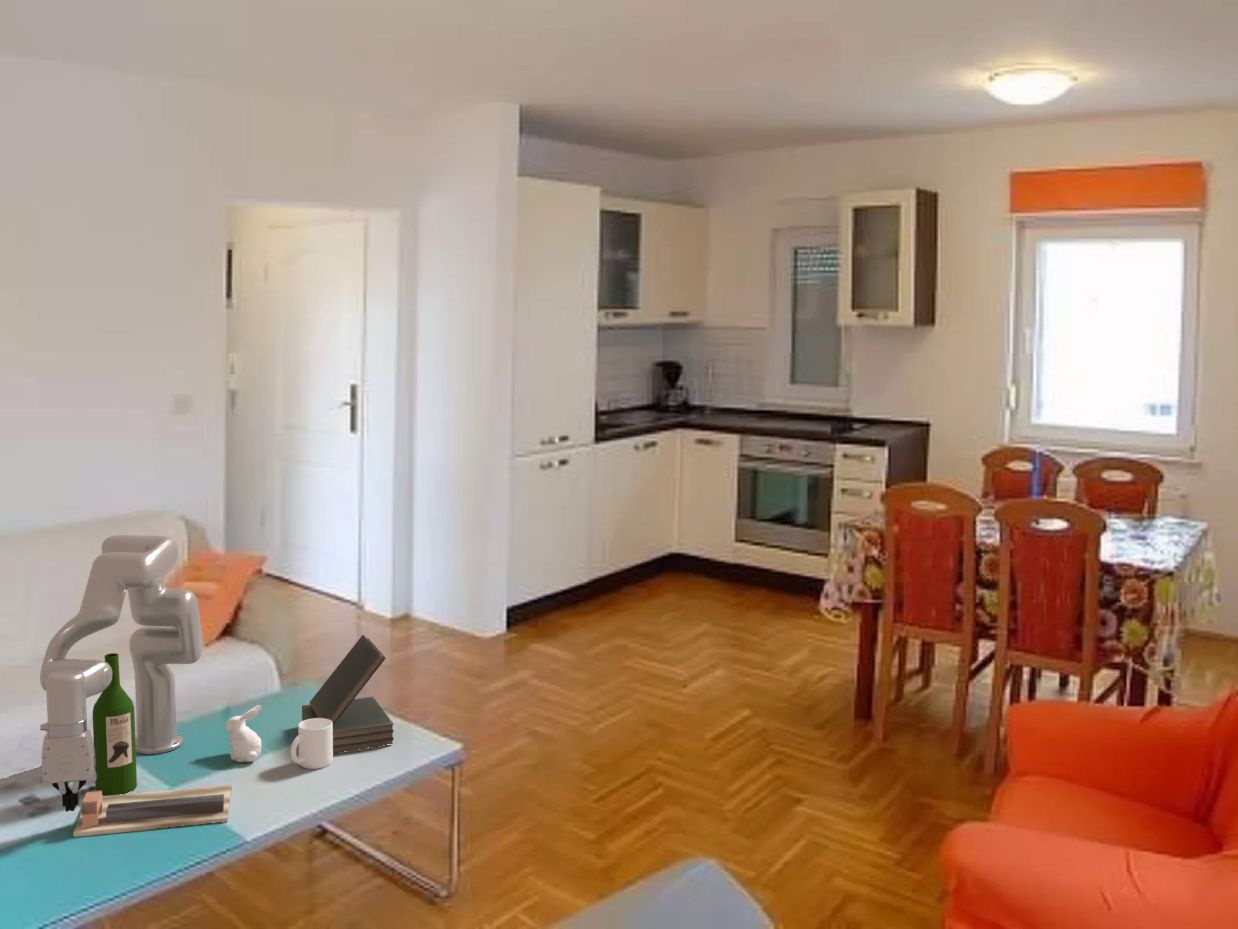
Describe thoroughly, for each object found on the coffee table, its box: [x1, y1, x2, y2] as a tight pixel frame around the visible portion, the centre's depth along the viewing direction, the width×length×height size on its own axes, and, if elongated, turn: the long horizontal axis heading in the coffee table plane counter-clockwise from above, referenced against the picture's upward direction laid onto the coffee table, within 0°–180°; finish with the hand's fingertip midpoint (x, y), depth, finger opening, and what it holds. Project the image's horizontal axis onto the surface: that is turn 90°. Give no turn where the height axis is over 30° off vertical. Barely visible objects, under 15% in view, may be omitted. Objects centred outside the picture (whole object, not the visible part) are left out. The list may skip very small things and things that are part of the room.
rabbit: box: [224, 704, 262, 763], centre depth 279 cm, size 12×9×12 cm
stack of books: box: [301, 634, 395, 755], centre depth 294 cm, size 23×20×25 cm
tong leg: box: [107, 794, 224, 808], centre depth 246 cm, size 24×2×2 cm, turn 106°
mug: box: [290, 718, 334, 770], centre depth 275 cm, size 12×8×10 cm
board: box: [72, 784, 233, 838], centre depth 248 cm, size 18×31×4 cm, turn 106°
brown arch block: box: [81, 790, 103, 827], centre depth 240 cm, size 6×3×5 cm, turn 16°
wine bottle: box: [92, 652, 138, 796], centre depth 257 cm, size 9×9×32 cm
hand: (71, 808), depth 239 cm, fingers closed
